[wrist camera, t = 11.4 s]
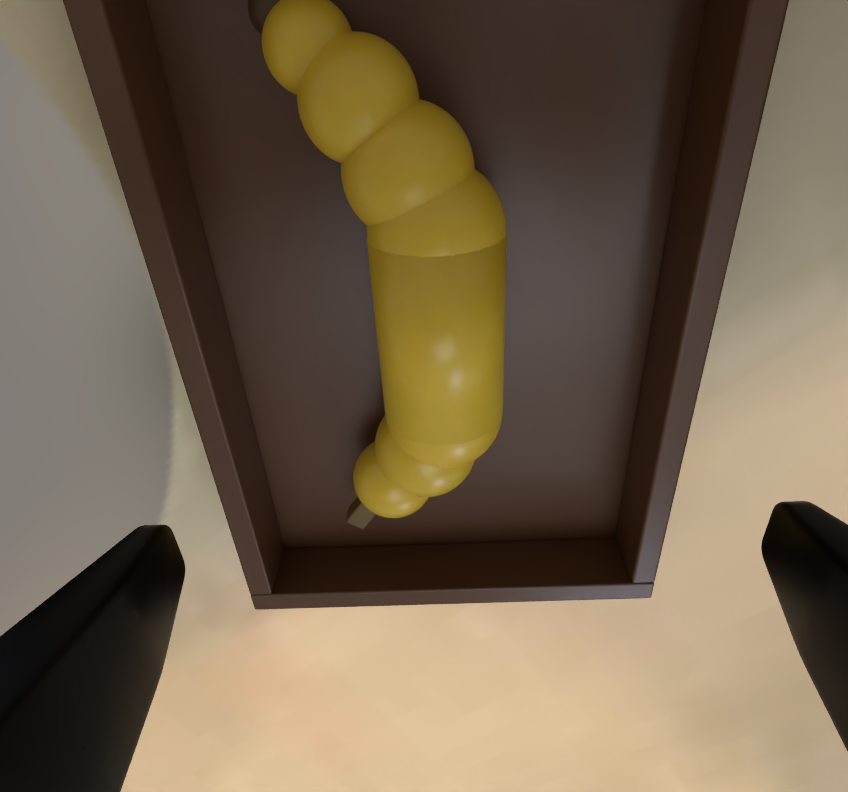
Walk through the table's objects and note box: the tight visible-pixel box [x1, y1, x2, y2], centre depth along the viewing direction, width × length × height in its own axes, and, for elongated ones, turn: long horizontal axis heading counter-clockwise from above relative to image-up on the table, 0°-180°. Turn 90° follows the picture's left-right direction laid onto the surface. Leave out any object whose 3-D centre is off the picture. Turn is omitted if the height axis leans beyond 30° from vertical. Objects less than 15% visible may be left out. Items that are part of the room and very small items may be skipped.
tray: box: [63, 0, 789, 609], centre depth 17 cm, size 21×14×3 cm
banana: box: [248, 0, 507, 529], centre depth 16 cm, size 15×6×3 cm, turn 3°
